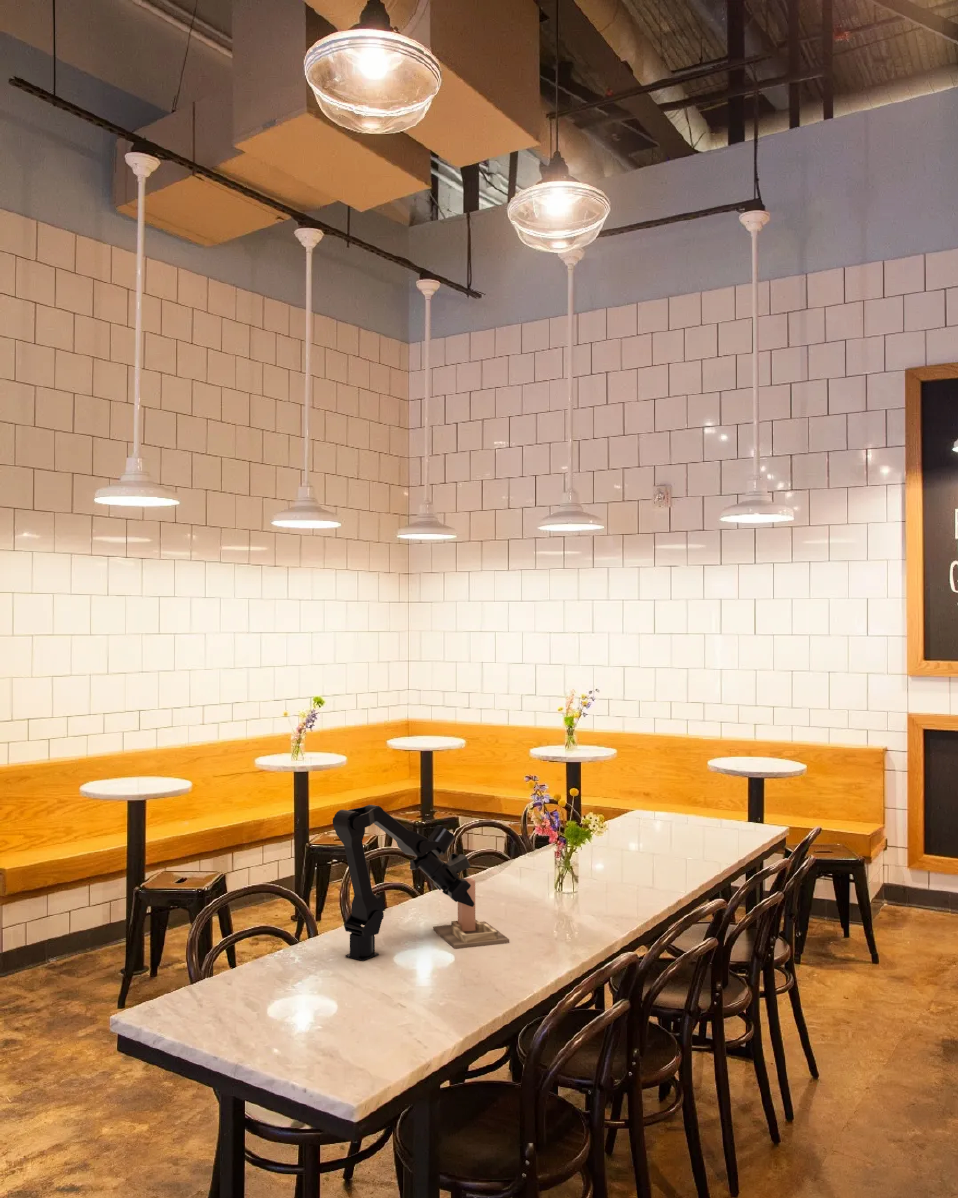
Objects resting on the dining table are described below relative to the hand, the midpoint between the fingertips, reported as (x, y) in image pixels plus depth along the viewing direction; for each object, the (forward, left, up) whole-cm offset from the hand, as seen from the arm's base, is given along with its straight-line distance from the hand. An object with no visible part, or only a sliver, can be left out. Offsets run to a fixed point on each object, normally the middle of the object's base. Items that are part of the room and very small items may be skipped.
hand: (470, 903), depth 290 cm
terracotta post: (-1, +1, -7) cm, 7 cm away
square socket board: (-3, -2, -8) cm, 9 cm away
